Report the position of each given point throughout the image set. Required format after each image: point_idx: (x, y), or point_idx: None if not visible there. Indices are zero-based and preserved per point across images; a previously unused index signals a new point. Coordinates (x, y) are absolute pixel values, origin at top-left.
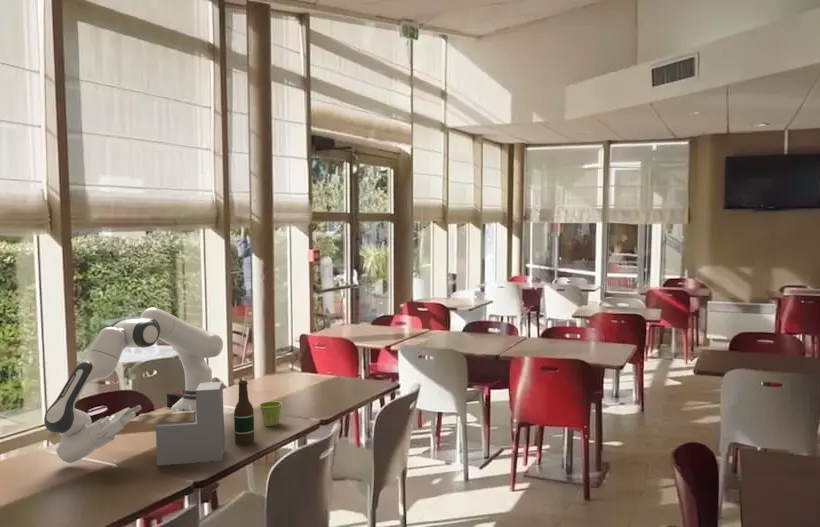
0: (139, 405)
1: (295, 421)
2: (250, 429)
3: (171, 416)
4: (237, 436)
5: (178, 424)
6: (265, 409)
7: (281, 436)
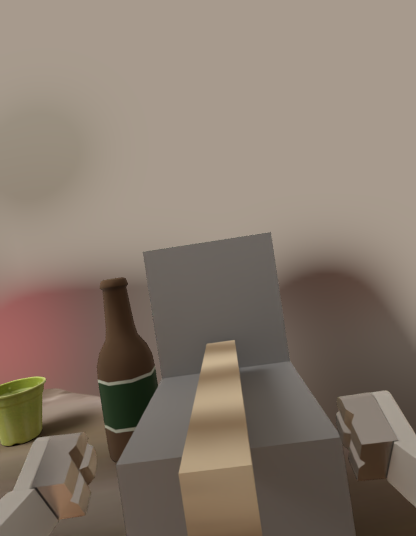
0: (54, 436)
1: (42, 413)
2: None
3: (240, 381)
4: None
5: (296, 386)
6: (30, 394)
7: None
